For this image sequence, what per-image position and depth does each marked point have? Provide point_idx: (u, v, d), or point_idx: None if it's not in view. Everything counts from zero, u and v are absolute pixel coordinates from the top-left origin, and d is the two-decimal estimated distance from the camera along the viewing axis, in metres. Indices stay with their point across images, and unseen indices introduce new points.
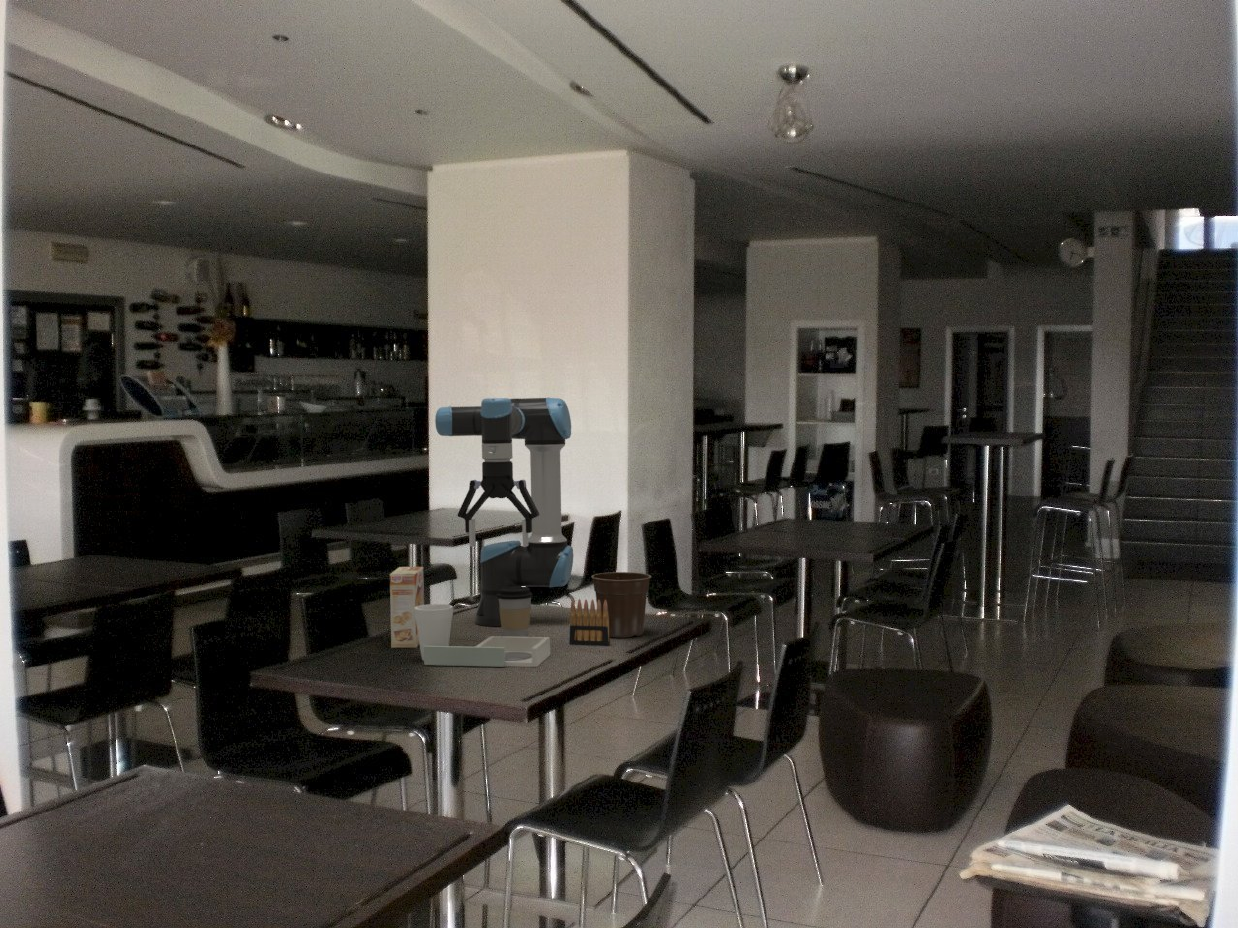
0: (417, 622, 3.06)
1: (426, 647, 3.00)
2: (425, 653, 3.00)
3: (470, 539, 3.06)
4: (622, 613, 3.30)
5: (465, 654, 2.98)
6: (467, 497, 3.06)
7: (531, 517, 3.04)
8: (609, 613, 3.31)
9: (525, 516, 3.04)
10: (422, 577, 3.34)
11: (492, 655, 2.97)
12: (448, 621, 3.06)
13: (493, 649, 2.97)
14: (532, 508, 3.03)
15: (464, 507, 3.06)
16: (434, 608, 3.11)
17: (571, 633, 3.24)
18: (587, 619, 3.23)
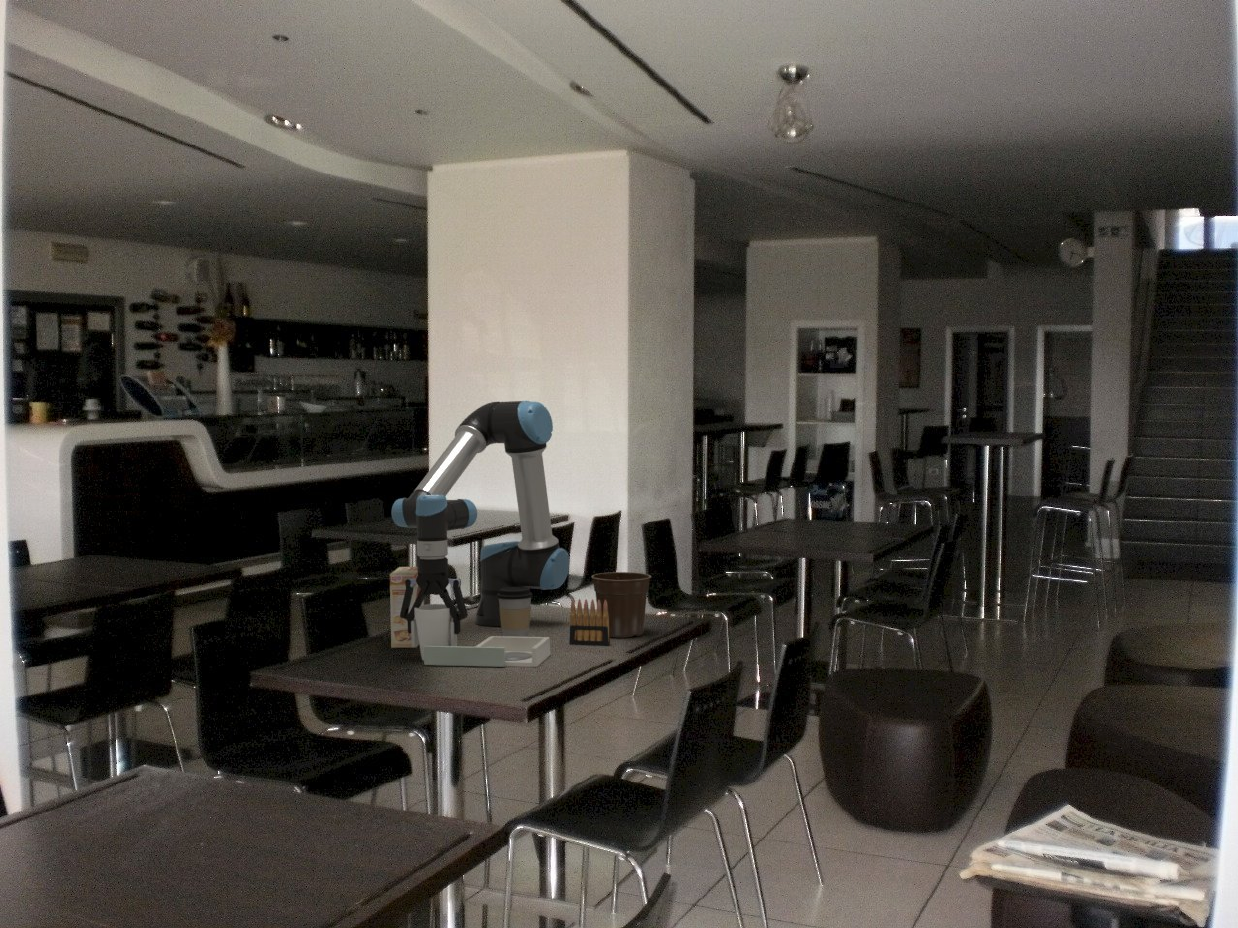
0: (417, 622, 3.06)
1: (426, 647, 3.00)
2: (425, 653, 3.00)
3: (412, 640, 3.07)
4: (622, 613, 3.30)
5: (465, 654, 2.98)
6: (405, 597, 3.07)
7: (459, 619, 3.06)
8: (609, 613, 3.31)
9: (453, 617, 3.05)
10: None
11: (492, 655, 2.97)
12: (448, 621, 3.06)
13: (493, 649, 2.97)
14: (461, 609, 3.05)
15: (405, 607, 3.07)
16: (434, 608, 3.11)
17: (571, 633, 3.24)
18: (587, 619, 3.23)
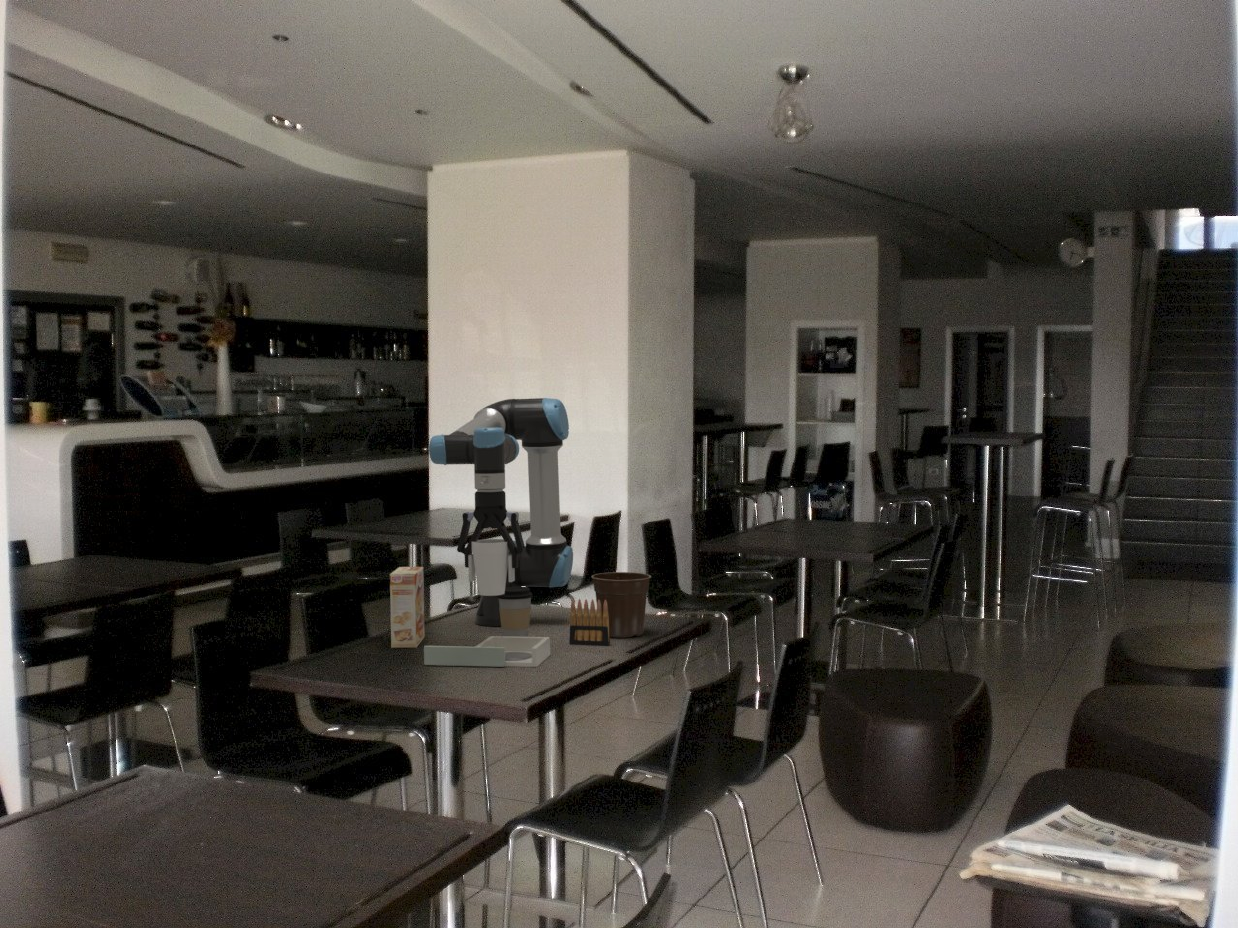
0: (474, 556, 3.02)
1: (426, 647, 3.00)
2: (425, 653, 3.00)
3: (469, 574, 3.04)
4: (622, 613, 3.30)
5: (465, 654, 2.98)
6: (463, 530, 3.04)
7: (517, 553, 3.02)
8: (609, 613, 3.31)
9: (511, 551, 3.02)
10: (422, 577, 3.34)
11: (492, 655, 2.97)
12: (505, 555, 3.02)
13: (493, 649, 2.97)
14: (519, 543, 3.01)
15: (462, 541, 3.04)
16: (491, 543, 3.08)
17: (571, 633, 3.24)
18: (587, 619, 3.23)
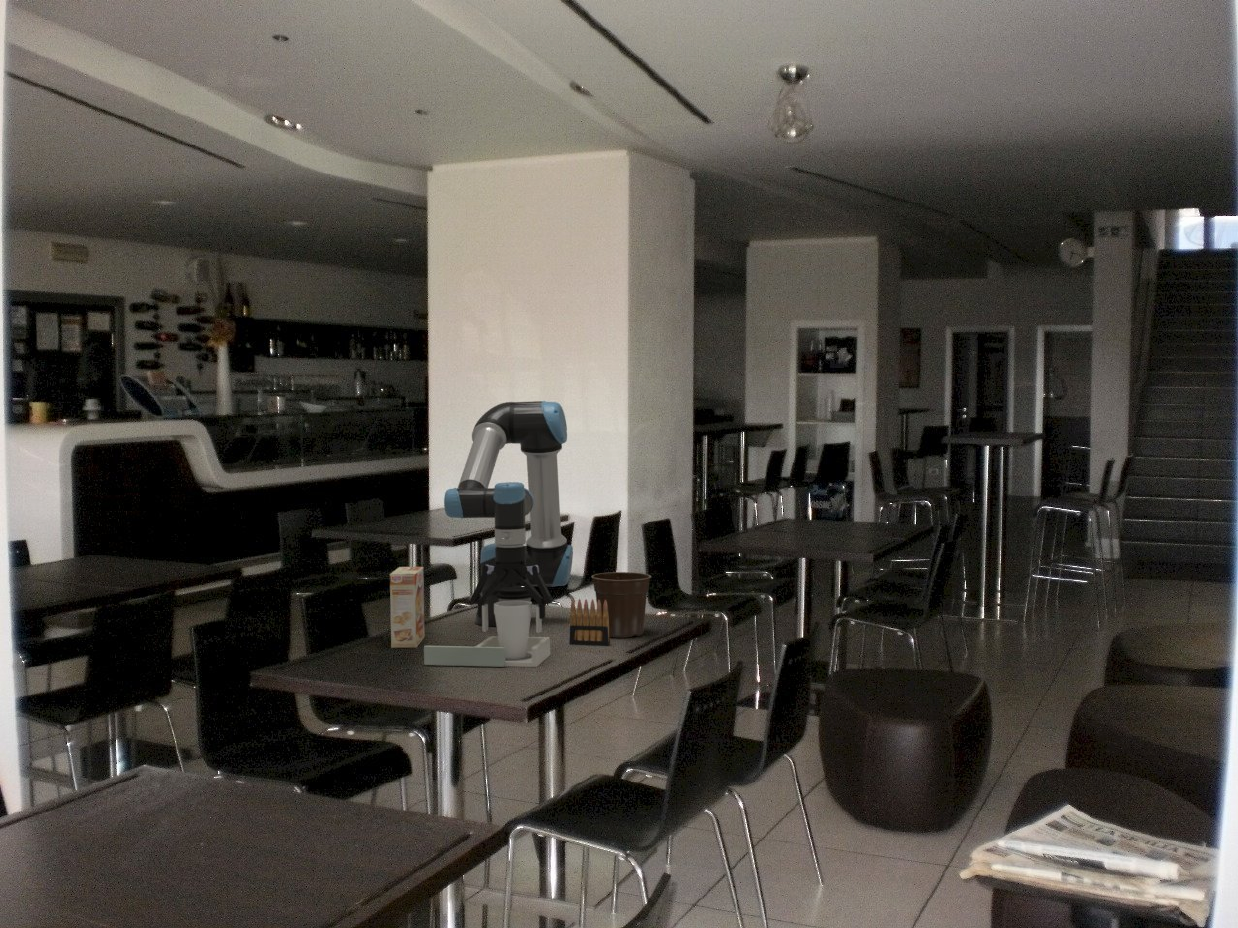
0: (497, 618, 3.02)
1: (426, 647, 3.00)
2: (425, 653, 3.00)
3: (483, 625, 3.04)
4: (622, 613, 3.30)
5: (465, 654, 2.98)
6: (480, 582, 3.04)
7: (544, 603, 3.02)
8: (609, 613, 3.31)
9: (538, 602, 3.01)
10: (422, 577, 3.34)
11: (492, 655, 2.97)
12: (528, 618, 3.02)
13: (493, 649, 2.97)
14: (546, 594, 3.01)
15: (477, 592, 3.04)
16: (512, 604, 3.08)
17: (571, 633, 3.24)
18: (587, 619, 3.23)
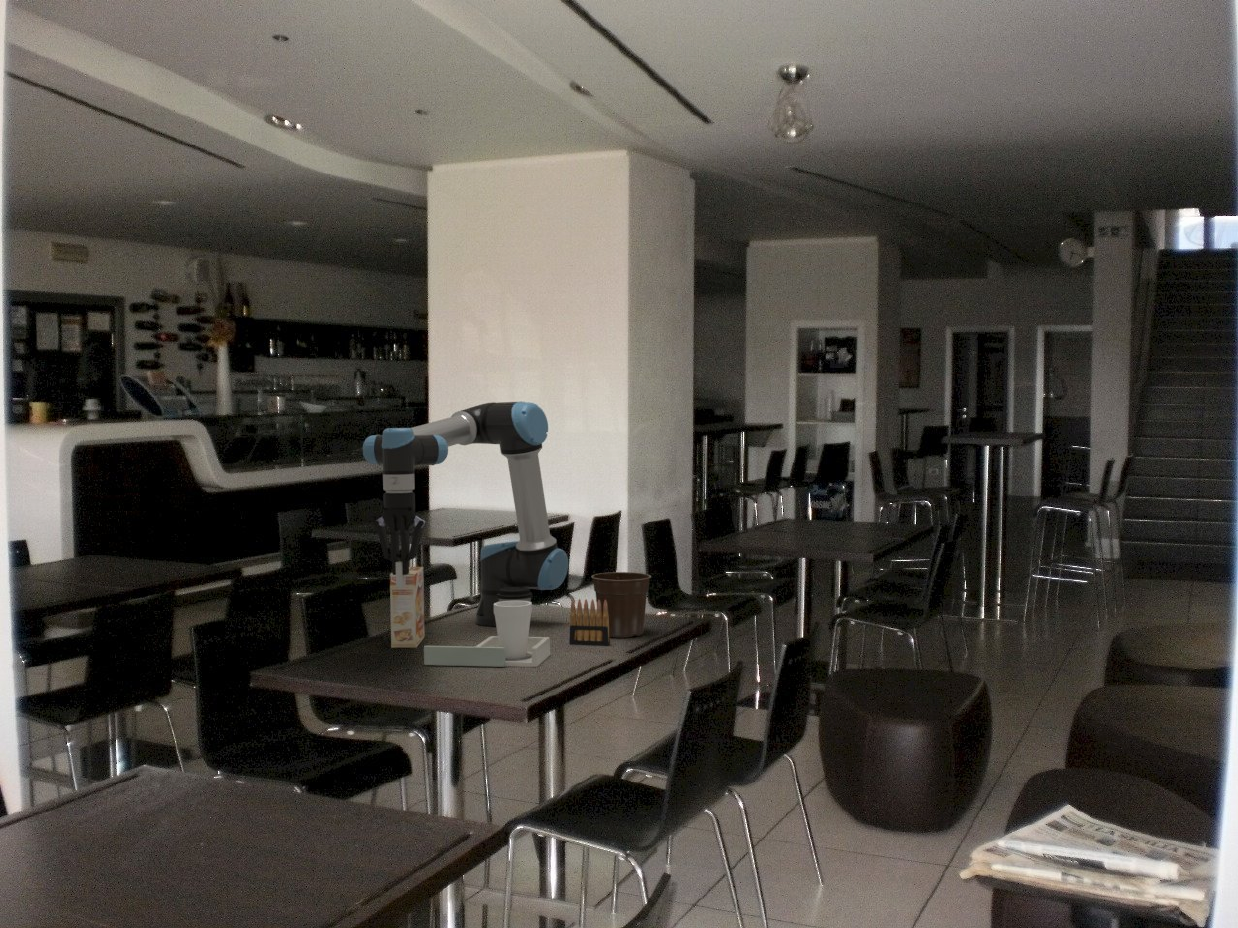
0: (496, 619, 3.02)
1: (426, 647, 3.00)
2: (425, 653, 3.00)
3: (396, 582, 3.00)
4: (622, 613, 3.30)
5: (465, 654, 2.98)
6: (381, 537, 3.00)
7: (407, 561, 3.00)
8: (609, 613, 3.31)
9: (402, 557, 2.99)
10: (422, 577, 3.34)
11: (492, 655, 2.97)
12: (528, 618, 3.02)
13: (493, 649, 2.97)
14: (413, 550, 2.99)
15: (385, 547, 3.00)
16: (512, 604, 3.08)
17: (571, 633, 3.24)
18: (587, 619, 3.23)
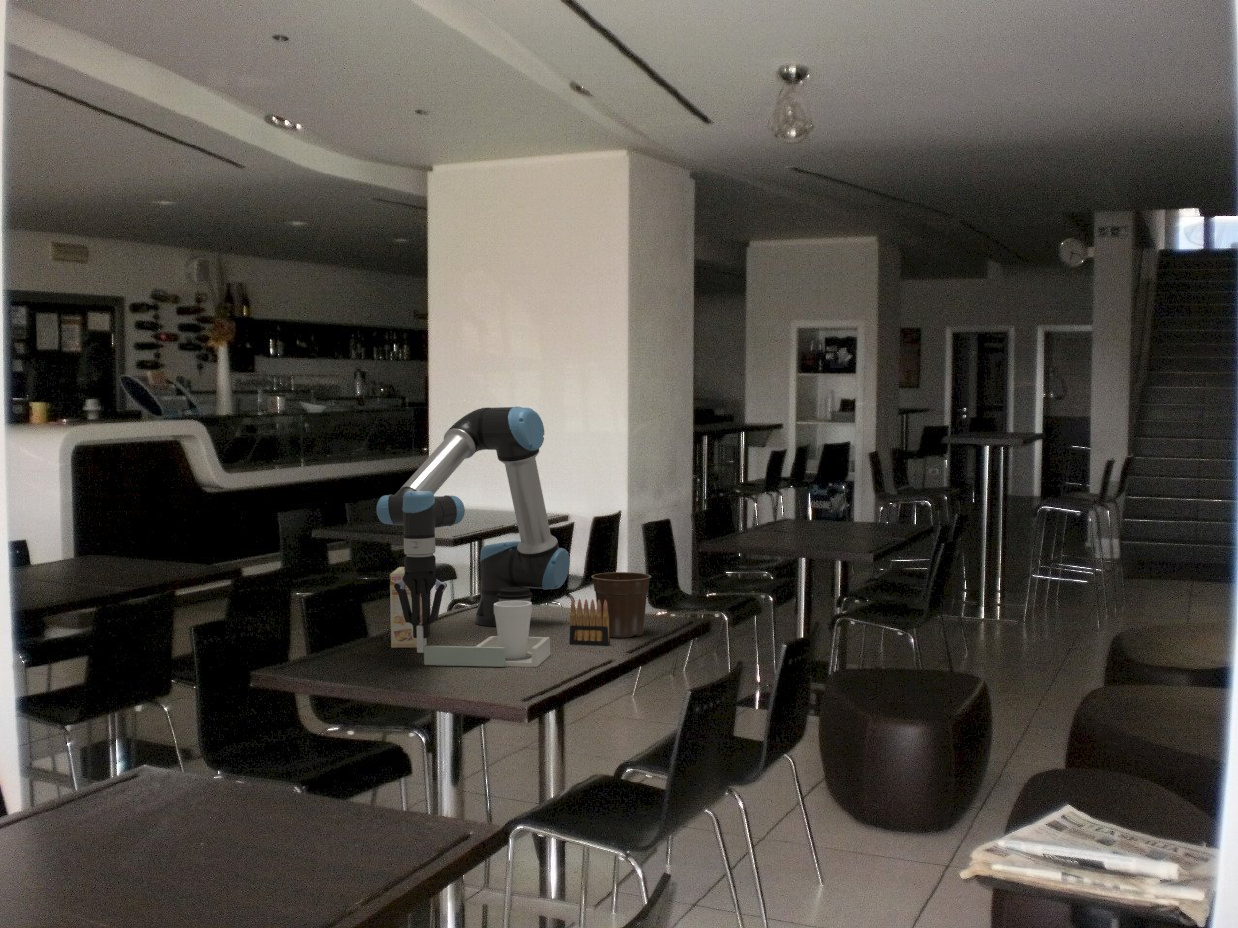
0: (496, 619, 3.02)
1: (426, 647, 3.00)
2: (425, 653, 3.00)
3: (417, 645, 2.99)
4: (622, 613, 3.30)
5: (465, 654, 2.98)
6: (402, 601, 3.00)
7: (428, 625, 2.99)
8: (609, 613, 3.31)
9: (423, 620, 2.99)
10: None
11: (492, 655, 2.97)
12: (528, 618, 3.02)
13: (493, 649, 2.97)
14: (434, 614, 2.98)
15: (406, 611, 3.00)
16: (512, 604, 3.08)
17: (571, 633, 3.24)
18: (587, 619, 3.23)
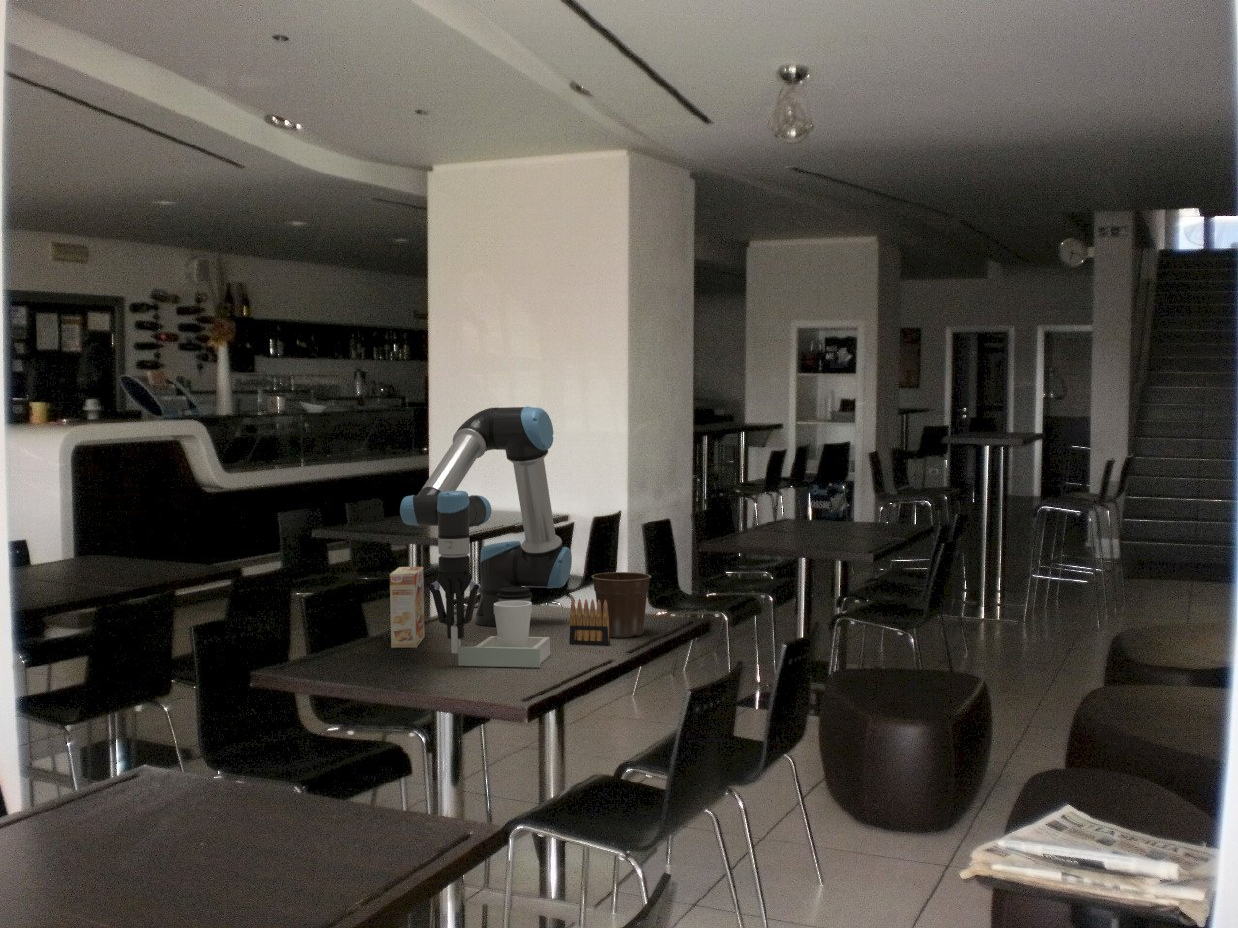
0: (496, 619, 3.02)
1: (460, 648, 2.98)
2: (459, 654, 2.98)
3: (452, 646, 2.98)
4: (622, 613, 3.30)
5: (500, 655, 2.97)
6: (436, 601, 2.98)
7: (462, 625, 2.98)
8: (609, 613, 3.31)
9: (458, 621, 2.98)
10: (422, 577, 3.34)
11: (527, 656, 2.96)
12: (528, 618, 3.02)
13: (528, 650, 2.95)
14: (468, 614, 2.97)
15: (440, 611, 2.98)
16: (512, 604, 3.08)
17: (571, 633, 3.24)
18: (587, 619, 3.23)
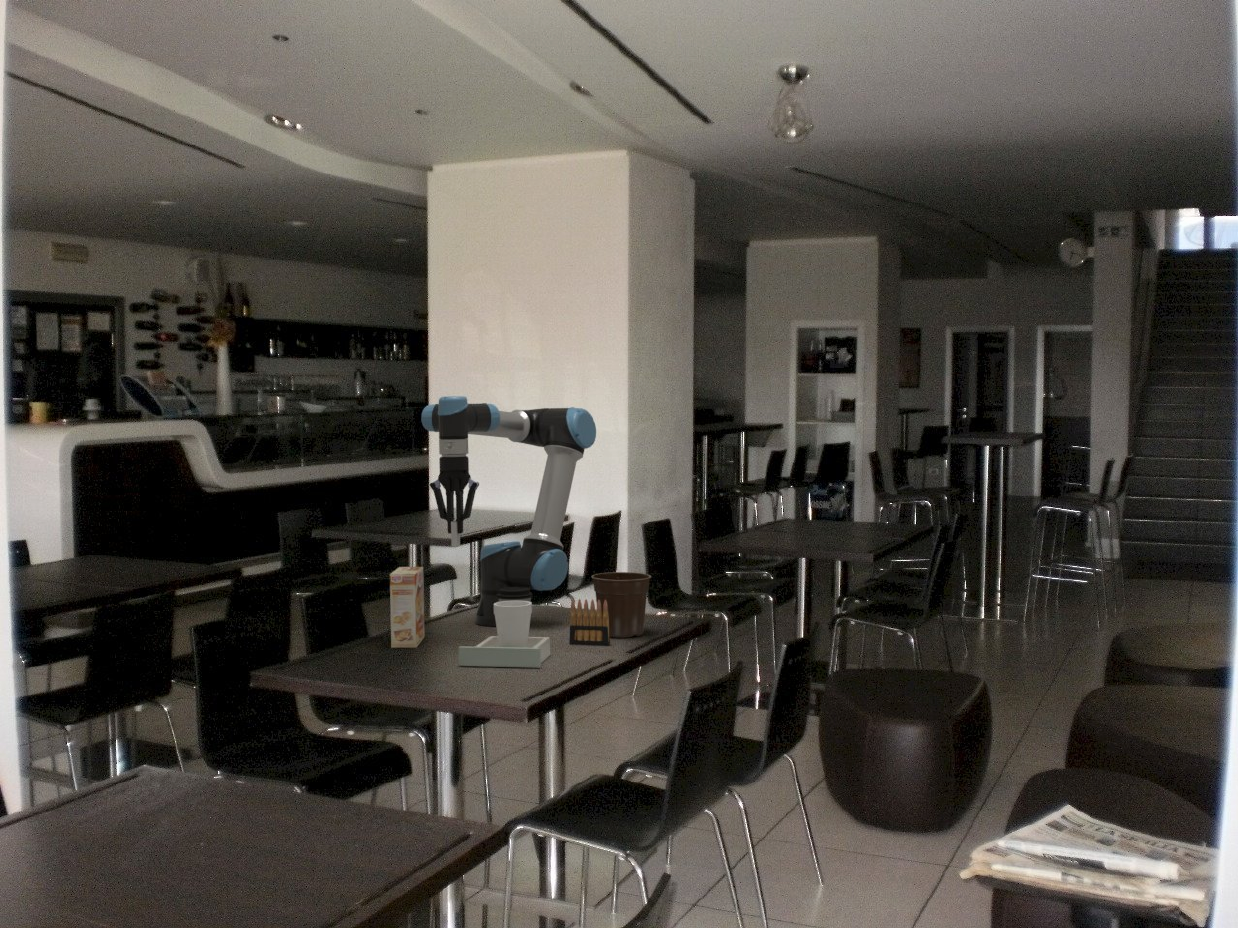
0: (496, 619, 3.02)
1: (461, 648, 2.98)
2: (460, 654, 2.98)
3: (452, 540, 3.21)
4: (622, 613, 3.30)
5: (500, 655, 2.97)
6: (437, 498, 3.21)
7: (461, 521, 3.21)
8: (609, 613, 3.31)
9: (457, 516, 3.21)
10: (422, 577, 3.34)
11: (527, 656, 2.96)
12: (528, 618, 3.02)
13: (529, 650, 2.95)
14: (467, 510, 3.20)
15: (441, 508, 3.21)
16: (512, 604, 3.08)
17: (571, 633, 3.24)
18: (587, 619, 3.23)
